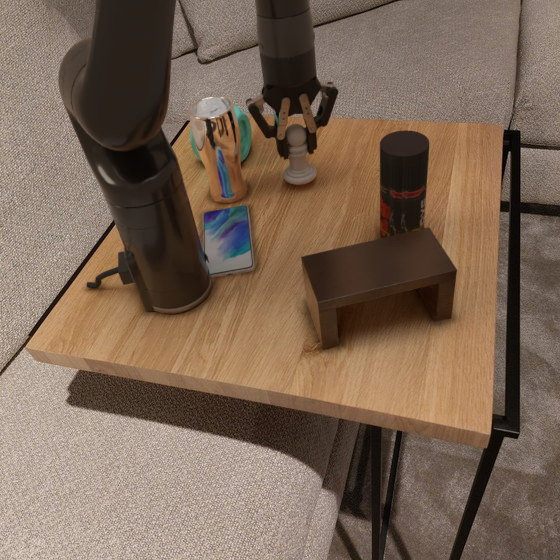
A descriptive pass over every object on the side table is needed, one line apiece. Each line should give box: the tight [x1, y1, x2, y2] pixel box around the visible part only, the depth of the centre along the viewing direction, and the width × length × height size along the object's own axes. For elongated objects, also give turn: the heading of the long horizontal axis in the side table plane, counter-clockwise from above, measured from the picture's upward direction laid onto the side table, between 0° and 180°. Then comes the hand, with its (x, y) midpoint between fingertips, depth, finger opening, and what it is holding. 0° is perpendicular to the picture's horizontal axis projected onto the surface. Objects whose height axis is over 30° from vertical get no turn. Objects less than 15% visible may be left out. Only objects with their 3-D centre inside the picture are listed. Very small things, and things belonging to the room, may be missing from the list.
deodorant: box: [379, 130, 430, 239], centre depth 77 cm, size 6×6×15 cm
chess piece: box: [282, 123, 317, 186], centre depth 90 cm, size 5×5×9 cm
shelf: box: [300, 226, 458, 350], centre depth 70 cm, size 16×8×8 cm, turn 102°
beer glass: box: [188, 95, 248, 204], centre depth 90 cm, size 7×7×15 cm
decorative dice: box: [189, 104, 252, 163], centre depth 100 cm, size 8×8×8 cm
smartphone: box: [202, 204, 256, 279], centre depth 86 cm, size 7×1×15 cm
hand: (297, 153), depth 91 cm, fingers closed on chess piece, 3 cm apart
